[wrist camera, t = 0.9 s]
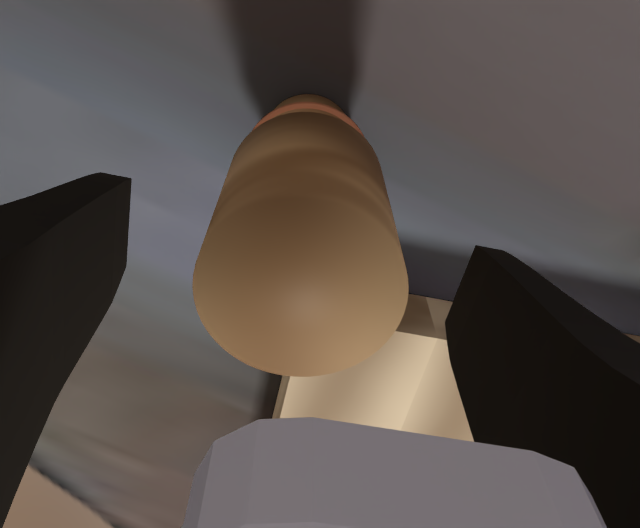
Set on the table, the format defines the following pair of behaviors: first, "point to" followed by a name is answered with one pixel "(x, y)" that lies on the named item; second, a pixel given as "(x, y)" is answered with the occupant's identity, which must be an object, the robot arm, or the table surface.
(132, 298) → the table surface
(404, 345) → the birch board
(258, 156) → the oak peg
